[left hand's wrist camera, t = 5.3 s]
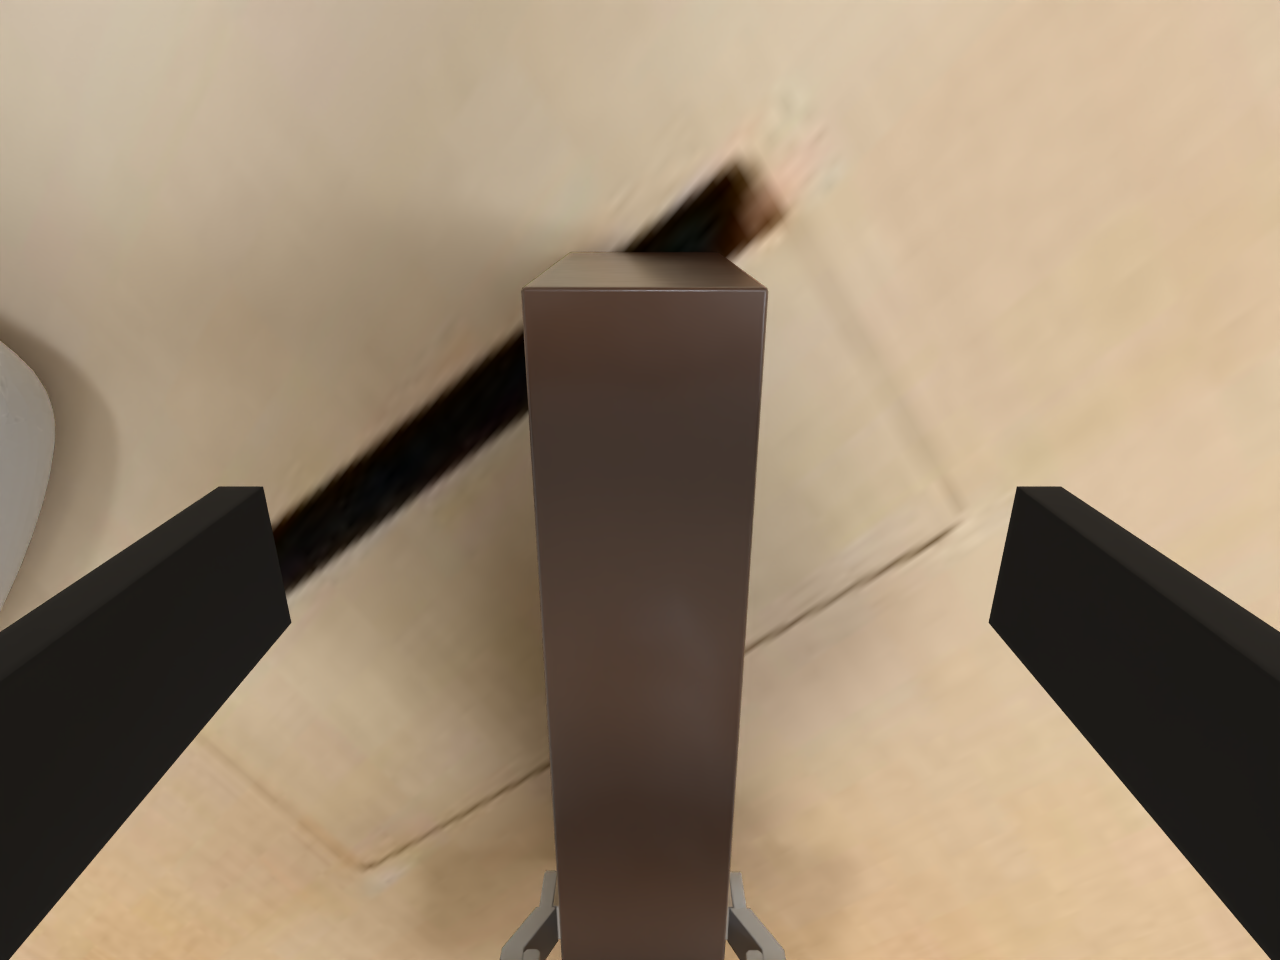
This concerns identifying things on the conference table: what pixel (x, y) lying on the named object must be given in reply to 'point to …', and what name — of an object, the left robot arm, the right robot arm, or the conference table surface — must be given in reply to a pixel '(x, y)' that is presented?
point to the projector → (21, 460)
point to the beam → (644, 584)
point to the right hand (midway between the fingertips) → (643, 881)
